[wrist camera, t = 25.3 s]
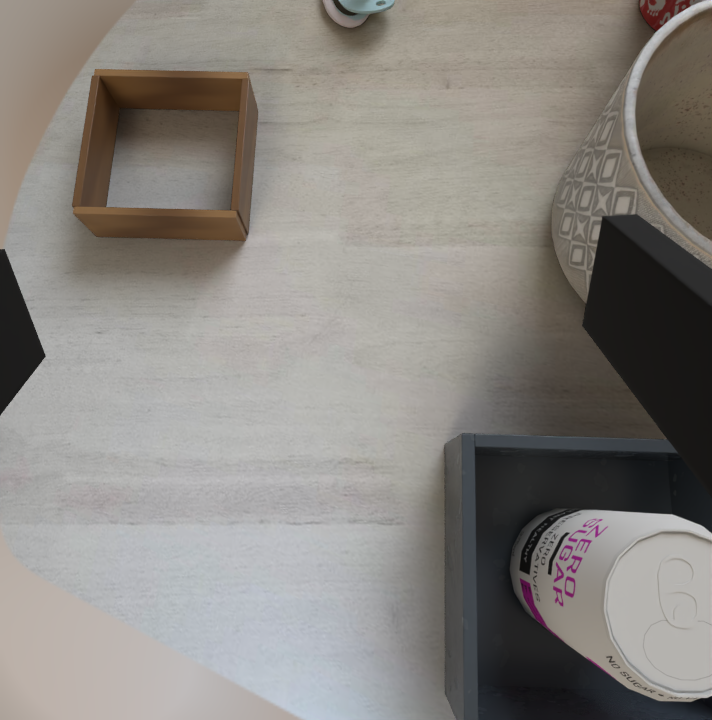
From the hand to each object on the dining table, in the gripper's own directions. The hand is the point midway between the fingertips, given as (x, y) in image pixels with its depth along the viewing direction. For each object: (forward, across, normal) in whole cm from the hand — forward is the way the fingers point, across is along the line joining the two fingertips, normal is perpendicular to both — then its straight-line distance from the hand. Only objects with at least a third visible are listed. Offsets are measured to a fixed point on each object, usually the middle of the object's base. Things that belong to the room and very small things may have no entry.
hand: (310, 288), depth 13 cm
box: (+38, -12, -6) cm, 40 cm away
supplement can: (+14, +15, -29) cm, 35 cm away
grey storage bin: (+14, +15, -29) cm, 36 cm away
